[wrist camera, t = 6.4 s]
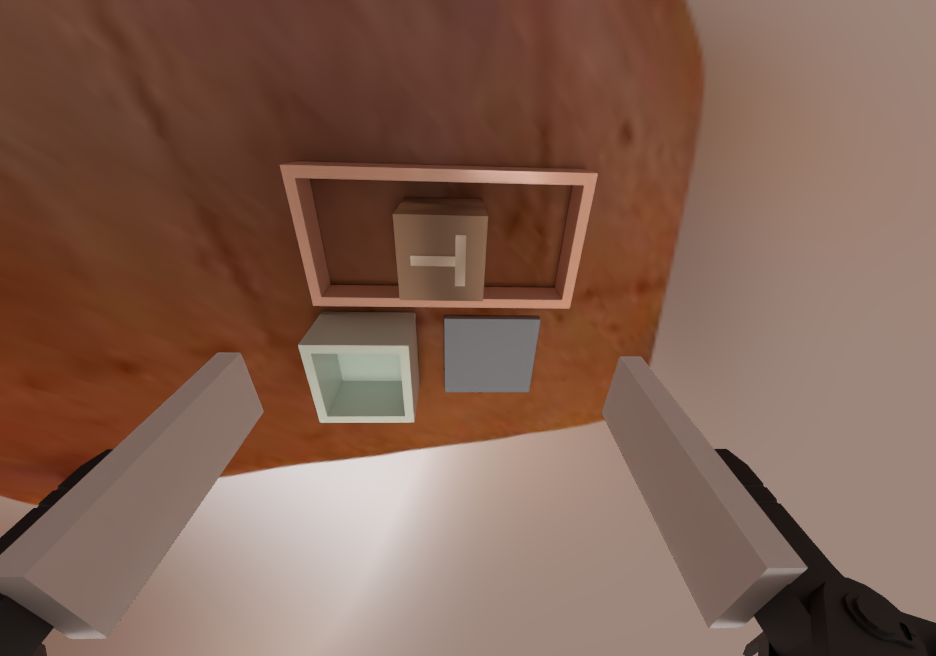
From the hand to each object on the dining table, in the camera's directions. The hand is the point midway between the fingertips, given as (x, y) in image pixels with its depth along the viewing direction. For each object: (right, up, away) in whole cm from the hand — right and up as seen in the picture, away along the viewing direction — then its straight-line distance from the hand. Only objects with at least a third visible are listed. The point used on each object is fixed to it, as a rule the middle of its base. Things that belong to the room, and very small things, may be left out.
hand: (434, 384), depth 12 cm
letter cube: (-1, +10, +16) cm, 18 cm away
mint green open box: (-8, 0, +21) cm, 23 cm away
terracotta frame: (-1, +10, +16) cm, 18 cm away
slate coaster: (+3, -1, +22) cm, 22 cm away
